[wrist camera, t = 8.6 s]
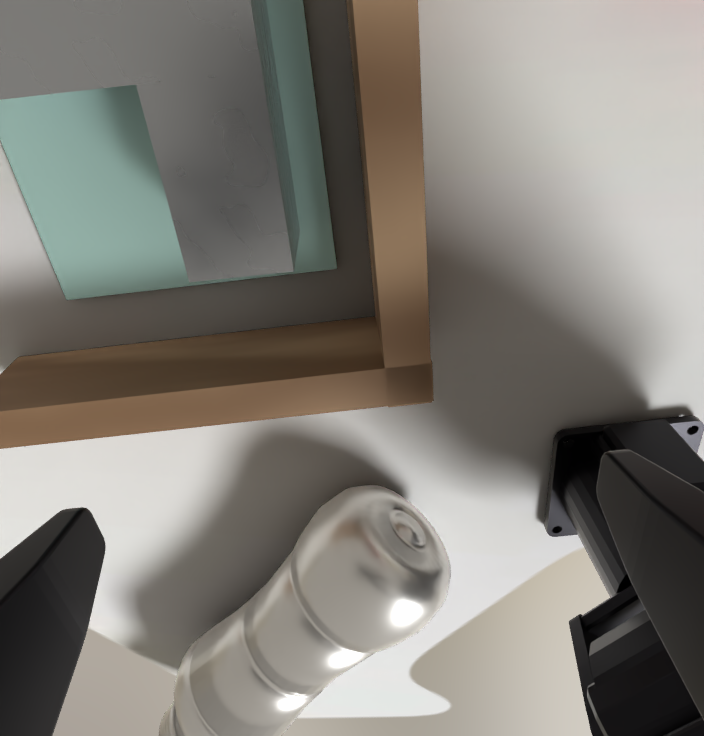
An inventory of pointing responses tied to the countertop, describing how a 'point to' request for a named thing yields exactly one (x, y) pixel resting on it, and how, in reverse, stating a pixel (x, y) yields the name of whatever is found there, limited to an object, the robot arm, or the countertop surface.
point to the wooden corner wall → (282, 344)
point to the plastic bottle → (314, 617)
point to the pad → (147, 177)
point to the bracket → (179, 111)
